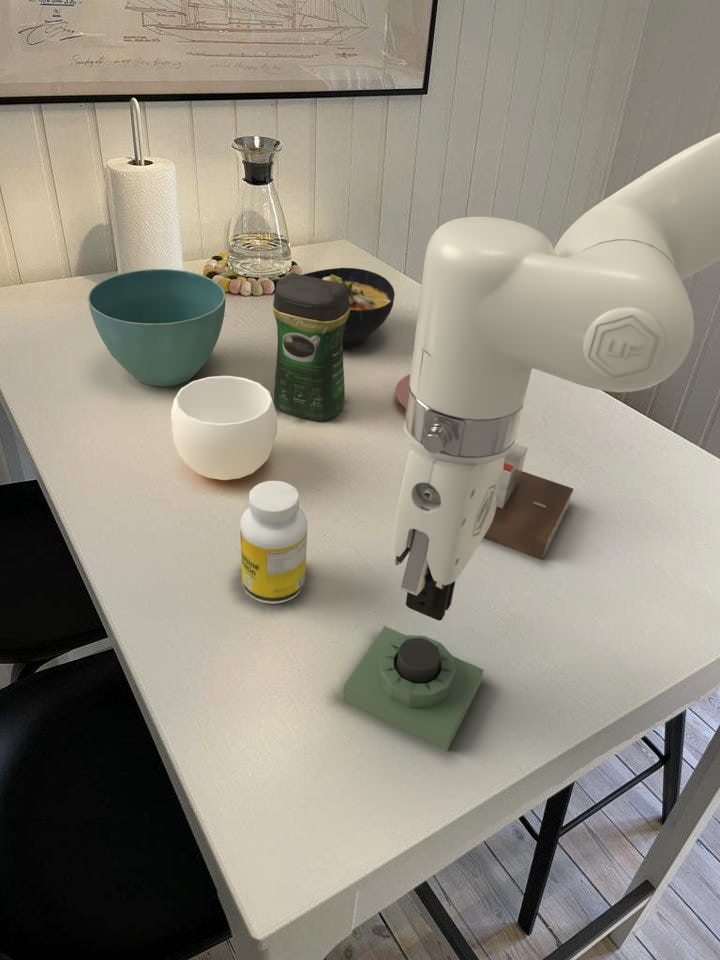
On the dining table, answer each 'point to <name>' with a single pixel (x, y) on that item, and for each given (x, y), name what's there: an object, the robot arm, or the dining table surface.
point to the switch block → (413, 690)
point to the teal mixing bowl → (159, 322)
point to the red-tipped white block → (511, 473)
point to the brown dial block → (530, 515)
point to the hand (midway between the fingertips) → (427, 606)
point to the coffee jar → (310, 346)
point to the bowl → (361, 301)
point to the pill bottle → (273, 543)
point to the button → (418, 660)
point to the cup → (224, 426)
